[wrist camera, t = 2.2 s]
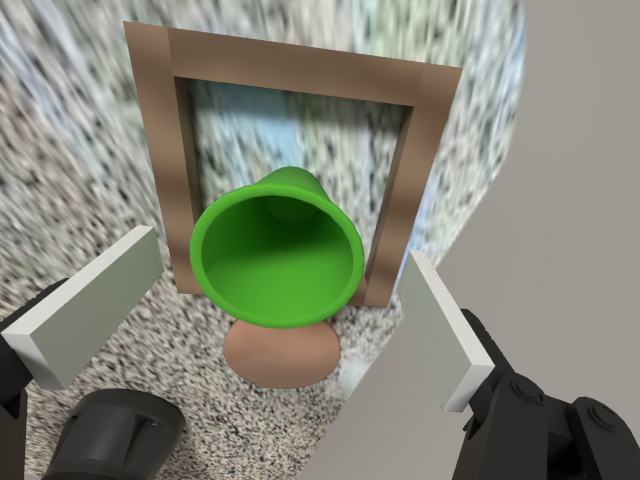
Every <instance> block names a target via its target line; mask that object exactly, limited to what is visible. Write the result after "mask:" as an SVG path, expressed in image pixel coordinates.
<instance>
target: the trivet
mask: <svg viewBox="0 0 640 480" xmlns="http://www.w3.org/2000/svg"><path fill="white" fill-rule="evenodd" d="M223 353H224V357H225V359H226V362H227V363H228V365H229V366H230V368H231V369H232V370H233V371H234V372H235V373H236V374H238V375H239V376H240V377H242V378H244V379H245V380H247V381H249V382H252V383H254V384H257V385H260V386H264V387H269V388H276V389H293V388H300V387H304V386H308V385H311V384H314V383H316V382H318V381H320V380H322V379H324V378H325V377H326V376H328V375H329V374H330V373H331V372H332V371H333V370H334V368H335V367H336V365H337V363H338V361H339V357H340V347H339V339H338V335H337V333H336V331H335V329H334V328H333V326H332V325H331V324H330V323H329V322H328V321H327V320H326V319H324V320H322V321H320V322H318V323H314V324H311V325H307V326H304V327H298V328H289V329H277V328H265V327H261V326H256V325H252V324H248V323H246V322H244V321H241V320H239V319H236V320H235V322H234V323H233V324H232V325H231V327H230V328H229V330H228V333H227V335H226V338H225V341H224V346H223Z"/></svg>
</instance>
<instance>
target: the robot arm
mask: <svg viewBox="0 0 640 480" xmlns="http://www.w3.org/2000/svg"><path fill="white" fill-rule="evenodd" d="M163 272H164V268H163V263H162V259H161V255H160V250H159V246H158V242H157V237H156V233H155V229H154V227H151V226H140V225H138V226H137V227H135V228H134V229H133V230H132V231H130V232H129V233H128V234H126V235H125V236H124V237H123V238H121V239H120V240H119V241H117V242H116V243H115V244H114V245H112V246H111V247H110V248H108V249H107V250H106V251H105V252H103V253H102V254H101V255H99V256H98V257H97V258H96V259H94V260H93V261H92V262H91V263H89V264H88V265H87V266H85V267H84V268H83V269H82V270H80V271H79V272H78V273H76V274H75V275H74V276H73V277H71V278H65V279H63V280H60V281H58V282H56V283H54V284H52V285H50V286H48V287H47V288H46V289H44V290H43V291H42V292H40V293H39V294H38V295H36V298H32V299H31V300H30V301H28V302H27V303H26V304H25V306H22V307H20V308H19V309H18V310H16V311H15V312H14V313H12V314H11V315H10V316H8V317H7V318H6V319H4V320H3V321H2V322H0V480H24V466H25V444H26V422H27V400H28V395H27V392H26V390H25V387H26V386H27V385H28V384H29V383H30V382H31V380H32V379H34V380H35V381H36V383H37V384H38V385H39V387H40V388H41V389H49V390H66V389H67V388H68V386H69V385H70V384H71V383H72V382H73V380H74V379H75V378H76V377H77V376H78V374H79V373H80V372H81V371H82V370H83V368H84V367H85V366H86V365H87V363H88V362H89V361H90V360H91V359H92V357H93V356H94V355H95V354H96V353H97V351H98V350H99V349H100V348H101V347H102V345H103V344H104V343H105V342H106V341H107V339H108V338H109V337H110V336H111V334H112V333H113V332H114V331H115V330H116V328H117V327H118V326H119V325H120V324H121V322H122V321H123V320H124V319H125V318H126V316H127V315H128V314H129V313H130V312H131V310H132V309H133V308H134V307H135V306H136V304H137V303H138V302H139V301H140V299H141V298H142V297H143V296H144V295H145V293H146V292H147V291H148V290H149V289H150V287H151V286H152V285H153V284H154V283H155V281H156V280H157V279H158V278H159V277H160V275H161V274H162V273H163ZM396 291H397V294H398V296H399V299H400V302H401V304H402V307H403V310H404V312H405V315H406V317H407V320H408V323H409V325H410V328H411V331H412V333H413V336H414V338H415V341H416V344H417V346H418V349H419V352H420V354H421V357H422V360H423V362H424V365H425V368H426V370H427V373H428V376H429V378H430V381H431V383H432V386H433V389H434V391H435V394H436V397H437V399H438V402H439V405H440V407H441V410H442V411H448V412H463V410H464V409H465V408H466V406H467V405H468V403H469V405H470V407H471V409H472V411H473V413H474V414H473V416H472V417H471V418H470V420H469V421H468V422H467V424H466V425H465V426H464V428H463V431H466V430H467V432H466V435H465V439H464V442H463V445H462V448H461V452H460V455H459V458H458V461H457V465H456V468H455V471H454V474H453V478H452V480H640V448H639V446H638V444H637V442H636V440H635V438H634V436H633V434H632V432H631V430H630V429H629V428H628V426H627V425H626V423H625V422H624V421H623V420H622V419H621V418H620V417H619V416H618V415H617V414H616V413H615V412H614V411H613V410H611V409H610V408H609V407H607V406H606V405H604V404H602V403H601V402H598V401H597V400H595V399H592V398H588V397H579V398H577V399H576V400H575V401H574V402H573V403H572V404H570V403H567V402H564V401H562V400H558V399H556V398H553V397H550V396H547V395H545V394H544V392H543V391H542V390H541V389H540V388H539V387H538V386H537V385H536V384H535V383H534V382H532V381H531V380H530V379H528V378H527V377H524V376H522V375H520V374H518V373H515V372H514V370H513V368H512V367H511V366H510V364H509V363H508V361H507V360H506V358H505V357H504V356H503V354H502V352H501V351H500V349H499V348H498V346H497V345H496V343H495V342H494V341H493V340H492V339H491V336H490V335H489V333H488V332H487V331H486V330H485V327H484V326H483V324H482V323H481V322H480V320H479V319H478V318H477V317H476V316H475V315H474V314H473V313H471V312H470V311H469V310H468V309H459V308H458V306H457V304H456V303H455V301H454V300H453V298H452V296H451V295H450V293H449V292H448V290H447V289H446V287H445V285H444V284H443V283H442V281H441V279H440V277H439V276H438V274H437V273H436V271H435V269H434V268H433V266H432V265H431V263H430V261H429V260H428V258H427V257H426V255H425V254H424V252H421V251H410V250H409V253H408V256H407V259H406V262H405V265H404V268H403V271H402V274H401V277H400V280H399V283H398V286H397V289H396ZM184 424H185V423H184V418H183V416H182V415H181V413H180V412H179V411H178V410H177V409H176V408H175V407H174V406H172V405H171V404H169V403H168V402H166V401H164V400H162V399H160V398H158V397H156V396H153V395H150V394H147V393H143V392H139V391H134V390H127V389H105V390H99V391H95V392H92V393H89V394H87V395H86V396H84V397H83V398H82V399H81V400H80V401H79V403H78V404H77V405H76V407H75V408H74V409H73V411H72V412H71V413H70V415H69V416H68V418H67V420H66V423H65V425H64V428H63V431H62V433H61V436H60V438H59V441H58V443H57V446H56V448H55V451H54V453H53V456H52V459H51V461H50V464H49V466H48V469H47V471H46V472H45V474H44V475H43V477H42V478H41V480H152V479H153V478H154V477H155V475H156V474H157V472H158V471H159V469H160V468H161V467H162V465H163V464H164V462H165V461H166V459H167V458H168V457H169V455H170V454H171V452H172V451H173V449H174V448H175V447H176V445H177V443H178V441H179V439H180V436H181V433H182V431H183V428H184Z"/></svg>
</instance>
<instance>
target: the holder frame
mask: <svg viewBox="0 0 640 480" xmlns="http://www.w3.org/2000/svg"><path fill="white" fill-rule="evenodd" d="M123 25H124V30H125V34H126V39H127V44H128V49H129V54H130V59H131V64H132V69H133V74H134V79H135V84H136V89H137V94H138V99H139V104H140V109H141V114H142V119H143V124H144V129H145V134H146V138H147V143H148V148H149V153H150V158H151V163H152V168H153V173H154V178H155V183H156V188H157V193H158V198H159V203H160V208H161V213H162V218H163V223H164V228H165V233H166V238H167V243H168V247H169V252H170V257H171V262H172V267H173V272H174V277H175V282H176V287H177V292H178V293H182V294H196V295H205V294H204V292H203V290H202V289H201V287H200V286H199V284H198V282H197V281H196V279H195V276H194V273H193V269H192V266H191V263H190V239H191V236H192V233H193V230H194V227H195V224H196V222H197V221H198V219H199V218H200V217H201V215H202V214H203V212H202V204H201V196H200V187H199V179H198V170H197V162H196V153H195V145H194V136H193V128H192V120H191V111H190V103H189V94H188V86H187V78H193V79H201V80H209V81H217V82H225V83H233V84H240V85H248V86H256V87H264V88H272V89H280V90H288V91H296V92H304V93H312V94H320V95H328V96H335V97H343V98H351V99H359V100H367V101H375V102H383V103H391V104H399V105H406V106H405V110H404V114H403V118H402V123H401V127H400V131H399V135H398V139H397V143H396V147H395V152H394V156H393V160H392V164H391V168H390V172H389V176H388V180H387V185H386V189H385V193H384V197H383V201H382V205H381V209H380V213H379V218H378V222H377V226H376V230H375V234H374V238H373V242H372V246H371V251H370V255H369V259H368V263H367V267H366V271H365V275H362V277H361V280H360V282H359V285H358V287H357V289H356V291H355V293H354V294H353V295H352V297H351V298H350V299H349V301H348V302H347V303H346V305H353V306H368V307H382V308H387V306H388V303H389V299H390V296H391V293H392V290H393V287H394V284H395V281H396V277H397V274H398V271H399V268H400V265H401V262H402V259H403V255H404V252H405V249H406V246H407V243H408V240H409V237H410V233H411V230H412V227H413V224H414V221H415V218H416V215H417V211H418V208H419V205H420V202H421V199H422V196H423V193H424V189H425V186H426V183H427V180H428V177H429V174H430V171H431V167H432V164H433V161H434V158H435V155H436V152H437V149H438V145H439V142H440V139H441V136H442V133H443V130H444V127H445V123H446V120H447V117H448V114H449V111H450V108H451V105H452V101H453V98H454V95H455V92H456V89H457V86H458V83H459V79H460V76H461V73H462V70H463V68H458V67H451V66H444V65H436V64H429V63H422V62H415V61H408V60H400V59H393V58H386V57H379V56H372V55H364V54H357V53H350V52H343V51H336V50H328V49H321V48H314V47H307V46H300V45H292V44H285V43H278V42H271V41H264V40H256V39H249V38H242V37H235V36H228V35H220V34H213V33H206V32H199V31H192V30H184V29H177V28H170V27H163V26H155V25H148V24H141V23H134V22H127V21H123Z"/></svg>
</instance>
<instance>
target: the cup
mask: <svg viewBox="0 0 640 480" xmlns="http://www.w3.org/2000/svg"><path fill="white" fill-rule="evenodd" d="M190 263H191V266H192V269H193V273H194V276H195V279H196V281H197V282H198V284H199V286H200V287H201V289H202V290H203V292H204V294H205V295H206V296H207V297H208V298H209V299H210V300H211V301H212V302H213V303H214V304H215V305H216V306H217V307H219V308H220V309H222V310H223V311H225V312H226V313H228V314H229V315H231V316H232V317H234V318H237V319H239V320H241V321H244V322H246V323H248V324H252V325H256V326H261V327H265V328H277V329H289V328H298V327H304V326H307V325H311V324H314V323H318V322H320V321H322V320H324V319H326V318H328V317H330V316H332V315H333V314H335V313H336V312H337V311H338V310H339V309H341V308H342V307H343V306H344V305H346V303H347V302H348V301H349V299H350V298H351V297H352V295H353V294H354V293H355V291H356V289H357V287H358V285H359V282H360V280H361V277H362V275H363V267H364V252H363V247H362V242H361V238H360V236H359V234H358V232H357V231H356V229H355V227H354V225H353V223H352V221H351V220H350V219H349V218H348V217H347V216H346V215H345V214H344V213H343V212H342V211H341V209H340V208H339V207H338V206H337V205H335V204H333V203H332V202H331V200H330V199H329V197H328V196H327V194H326V193H325V191H324V189H323V188H322V186H321V185H320V183H319V182H318V180H317V179H316V178H315V177H314V176H313V174H311V173H310V172H308V171H307V170H305V169H302V168H299V167H292V166H289V167H283V168H280V169H278V170H275V171H274V172H272V173H271V174H269V175H268V176H266V177H264V178H263V179H261V180H260V181H258V182H257V183H255V184H254V185H248V186H244V187H242V188H239V189H237V190H234V191H232V192H229V193H227V194H224V195H223V196H221V197H220V198H219V199H218V200H216V201H215V202H214V203H212V204H211V205H210V206H208V207H207V208H206V210H205V211H204V212H203V214H202V215H201V217H200V218H199V219H198V221H197V222H196V224H195V227H194V230H193V233H192V236H191V239H190Z"/></svg>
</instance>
